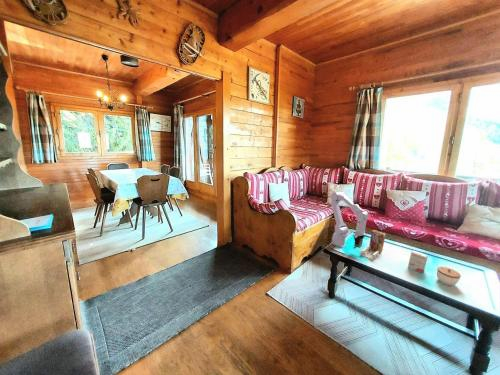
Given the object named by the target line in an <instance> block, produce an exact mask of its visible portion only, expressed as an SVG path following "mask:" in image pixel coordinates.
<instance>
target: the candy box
mask: <svg viewBox="0 0 500 375" xmlns="http://www.w3.org/2000/svg"><path fill="white" fill-rule="evenodd" d="M385 238H386V233H385V232H381V231H379V230H376V229H375V230H374V229H373V230H372V231H371V234H370V238H369V239H370V240H369V245H368V247H369V250H372V251H374V252H376V251H379V253H383V249H384V244H385Z"/></svg>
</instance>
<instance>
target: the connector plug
mask: <svg viewBox="0 0 500 375" xmlns="http://www.w3.org/2000/svg"><path fill="white" fill-rule="evenodd" d="M363 241H364V239H363V240H362V239H361V240H360V242H359V244H358V245H356V244H355V242H354V245H353V246H354V247H353V249H356V248H359V249H360V248H361V247H362V245H363Z"/></svg>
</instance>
